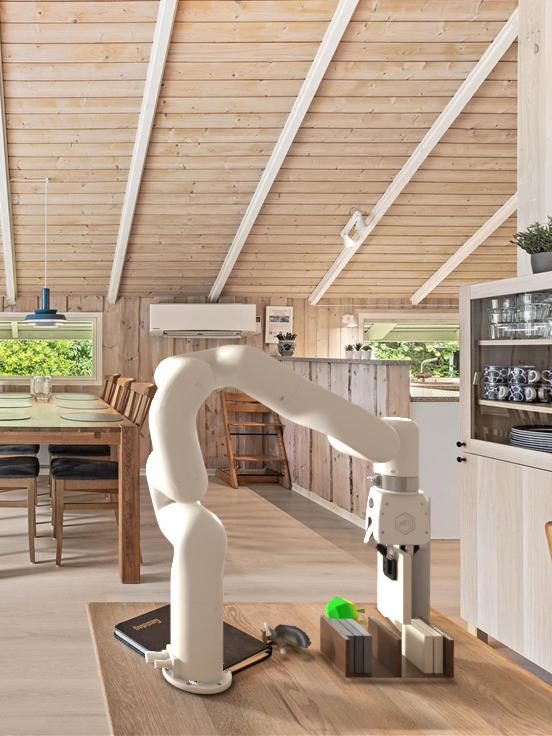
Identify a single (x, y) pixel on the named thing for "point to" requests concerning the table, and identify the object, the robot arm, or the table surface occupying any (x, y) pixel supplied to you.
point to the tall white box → (413, 582)
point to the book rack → (380, 652)
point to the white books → (423, 646)
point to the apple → (342, 609)
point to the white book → (398, 589)
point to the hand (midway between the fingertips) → (396, 577)
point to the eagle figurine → (286, 638)
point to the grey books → (357, 645)
